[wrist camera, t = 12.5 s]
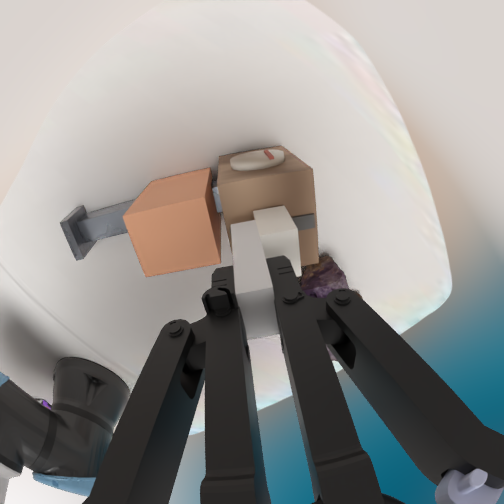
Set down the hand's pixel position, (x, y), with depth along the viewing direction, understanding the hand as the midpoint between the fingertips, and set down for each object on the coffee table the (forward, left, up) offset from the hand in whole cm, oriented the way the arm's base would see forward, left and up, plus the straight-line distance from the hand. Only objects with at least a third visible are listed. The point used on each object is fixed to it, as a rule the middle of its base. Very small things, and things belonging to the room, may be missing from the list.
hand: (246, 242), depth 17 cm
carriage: (-5, 0, -12) cm, 13 cm away
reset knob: (+2, 0, -1) cm, 2 cm away
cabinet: (+2, 0, -12) cm, 12 cm away
